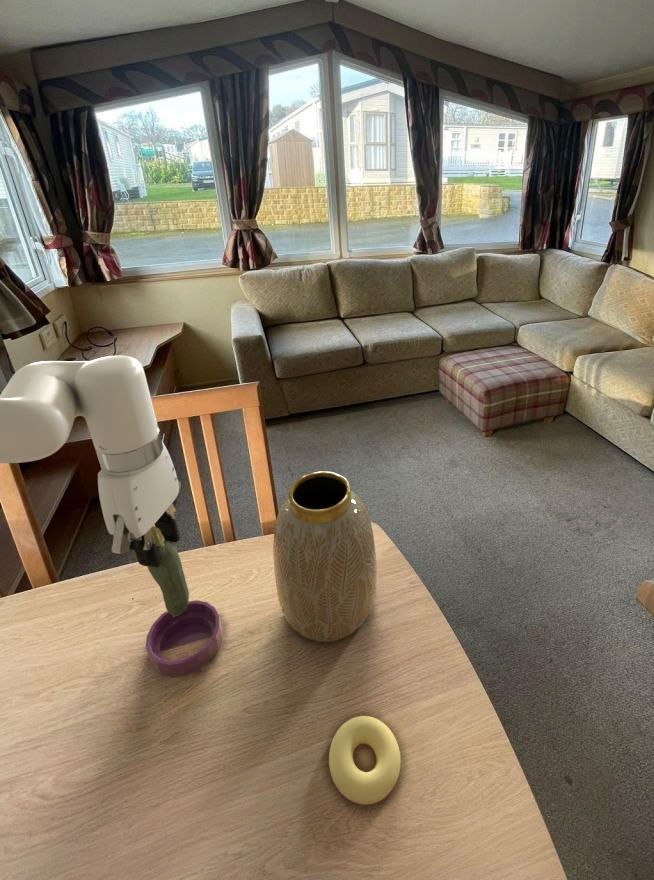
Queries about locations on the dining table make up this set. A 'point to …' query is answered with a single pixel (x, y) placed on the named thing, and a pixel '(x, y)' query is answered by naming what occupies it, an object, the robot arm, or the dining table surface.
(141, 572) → the dining table surface
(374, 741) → the donut
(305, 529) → the vase
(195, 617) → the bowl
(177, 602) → the vegetable
